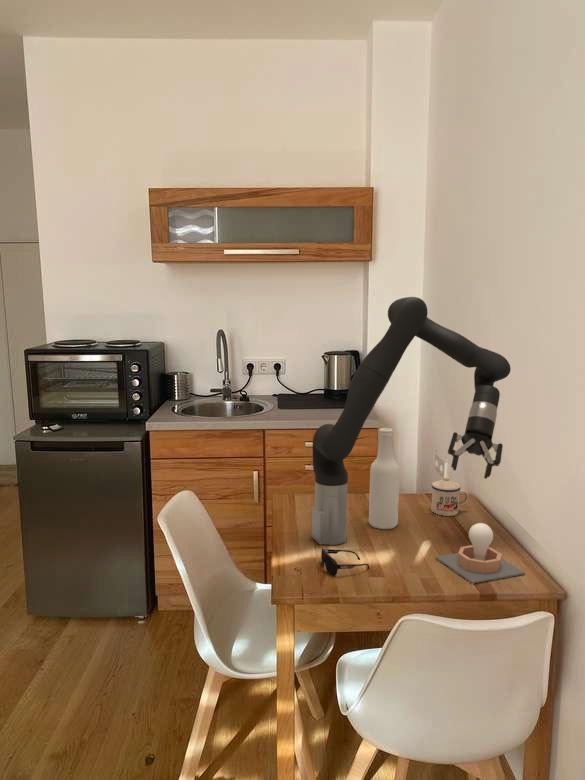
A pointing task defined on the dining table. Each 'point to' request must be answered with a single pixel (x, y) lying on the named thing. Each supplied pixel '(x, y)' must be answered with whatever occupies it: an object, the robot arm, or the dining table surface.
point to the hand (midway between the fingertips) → (470, 473)
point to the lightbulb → (480, 539)
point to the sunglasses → (332, 564)
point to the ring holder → (479, 565)
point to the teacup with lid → (446, 497)
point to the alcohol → (384, 485)
